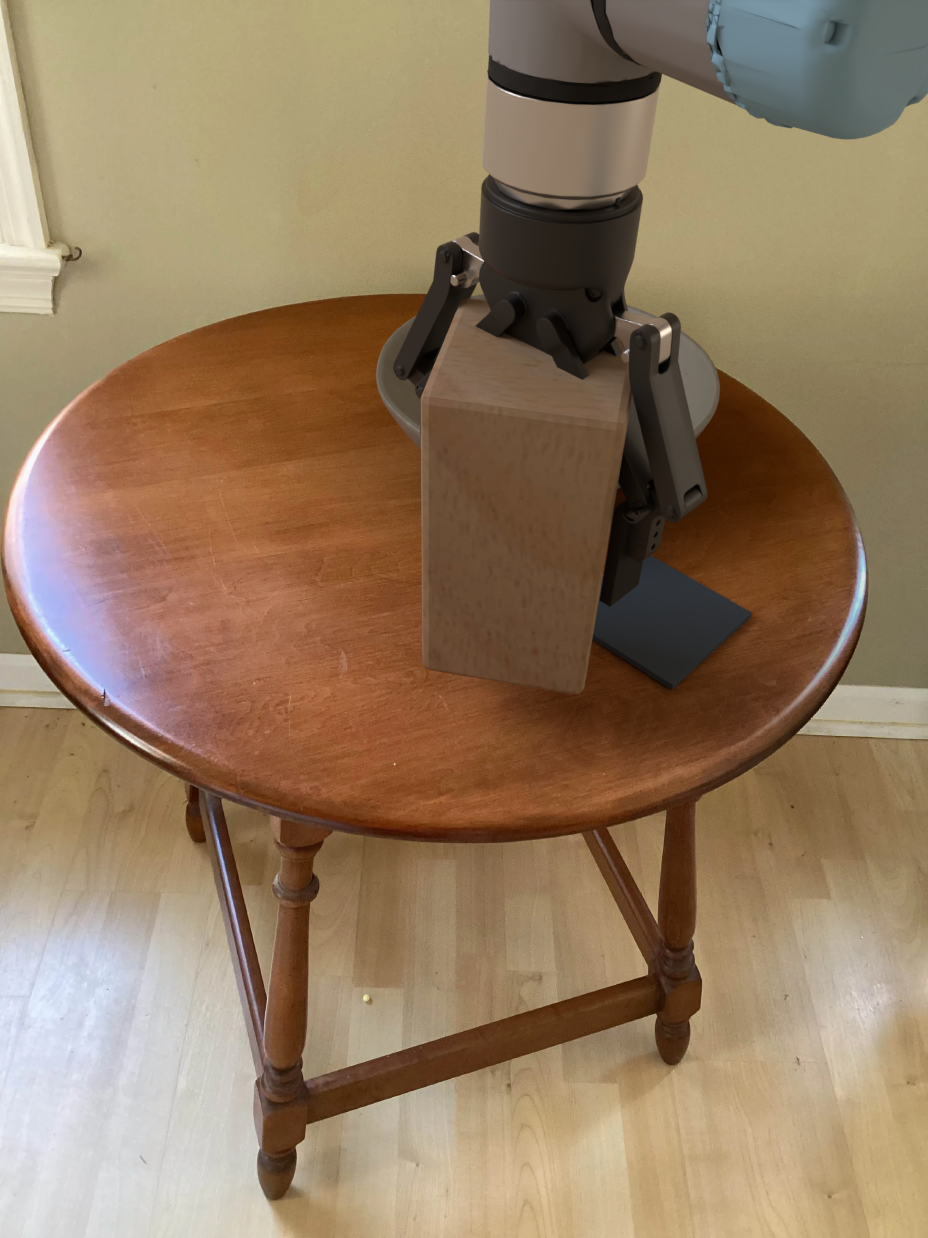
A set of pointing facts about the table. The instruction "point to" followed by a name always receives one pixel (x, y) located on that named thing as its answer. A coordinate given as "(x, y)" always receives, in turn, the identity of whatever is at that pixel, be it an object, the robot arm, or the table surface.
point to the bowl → (401, 394)
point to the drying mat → (667, 623)
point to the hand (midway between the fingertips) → (527, 539)
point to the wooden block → (516, 505)
